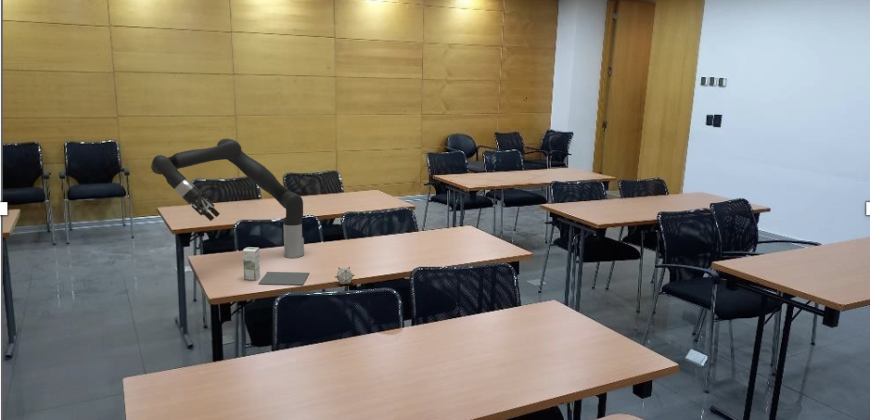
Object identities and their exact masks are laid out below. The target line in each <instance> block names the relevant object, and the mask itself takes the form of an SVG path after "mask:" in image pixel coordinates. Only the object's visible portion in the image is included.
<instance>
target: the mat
mask: <svg viewBox="0 0 870 420" xmlns="http://www.w3.org/2000/svg"><path fill="white" fill-rule="evenodd" d="M309 275H310V272H298V271H297V272H295V271H293V272H291V271H266V273H265V274H264V275H263V277H262V278H261V280H260V281H259V282H258V285H263V286H265V285H266V286H300V287H301V286H302V287H303V286H304V284H305V282H306V281H307V279H308V277H309Z"/></svg>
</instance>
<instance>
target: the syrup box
mask: <svg viewBox="0 0 870 420" xmlns="http://www.w3.org/2000/svg"><path fill="white" fill-rule="evenodd" d="M242 258H243V259H242V261H243V279H244V281H258V279H259V278H260V277H261V270H260V269H261V268H260V247H252V246H251V247H250V246H247V247H245V248H243V250H242Z"/></svg>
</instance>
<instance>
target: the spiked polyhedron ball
mask: <svg viewBox="0 0 870 420" xmlns="http://www.w3.org/2000/svg"><path fill="white" fill-rule="evenodd" d="M350 268H351V266H349V267H345V268H340V267H338V271H337V274H336V276H334V278H336V279H337V281H338V283H339V287H340V286H341V285H348V284H349V285H351V286H352V283H351V282H352V280H353V277H354V276H355V275H356V274H353V272H352V271H351V269H350Z"/></svg>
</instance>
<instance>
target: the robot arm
mask: <svg viewBox="0 0 870 420" xmlns="http://www.w3.org/2000/svg"><path fill="white" fill-rule="evenodd" d="M220 160H221V161H222V160H227V161H229V162H230V163H231V164H233V165H235V166H236V167H237V168H238V169H239V170H240V171H241V172H242V173H243V174H244V175H245V176H246V177H247V178H248V179H249V180H250V181H252V182H253V183H254V184H255V185H257V187H259V188H260V189H261V190H263V191H265V192H266V193H268V194H269V195H270V196H271V197H273V198H274V199H275V200H276V201H277V202H278V203H279V204H280V206H282V207H283V208H284V209H285V217H284V218H283V244H284V246H283V250H284V251H283V252H284V253H283V254H284V255H283V256H284V257H285V258H288V259H296V258H301V257H303V256H305V244H304V243H305V237H303V226H302V225H303V218H304V200H303V198H302V196H301V195H299V194H297V193H295V192H293V191H291V190H289V189H288V188H287V187H286V186H284V185H282V183H280V181H279V179H277V177H276V176H275V175H274V174H273V173H272V172H271V171H270V170H269V169H268V168H267V167H266V166H264V165H263V164H262V163H260V162H258V161H257V160H255V159H254V158H252V157H250V156H249V155H247V154H246V153H245V152H244V151H243V149H242V146H241V144H240V142H238V141H236V140H234V139H231V138H222V139H220V140H219V141H218V142H217V144H216V146H213V147H207V148H206V147H205V148H197V149H189V150H184V151H181V152H176V153H174V154H172V155H171V156H168V157H167V156H165V155H161V154H160V155H159V154H158V155H156V156H154V158H153V159H152V162H151V165H150V169H151V171H152V172H153V173H155V174H156V175H163V177H164V178H165V180H166V182H167V184H168V185H169V186H170V187H171V188H172V189H173V190H174V191H176V193H177V195H179V196H180V197H181V198H182V200H183V201H185V202H186V203H187V204H188V205H191V204H192V205H191V208H193V210H195V211H196V213H198V214H199V215H200V216H205V218H207V220H209V221H210V222H211V221H213V220H215V218H217V217H218V216H220V214H221V213H220V212H219V211H218V210H217V209H216V208H215V204H214V202H212V201H211V200H210V199H209V198H208V197H207V196H204V197H202V194H203V192H202V191H201V190H200V189H199V188H198V187H197V186H196V185H195V184H194V183H193V182H191V181H190V180H189V179H188V178H186V177H185V176H184V174H182V172H180V171H179V169H184V168H188V167H193V166H196V165H200V164H204V163H209V162H213V161H220ZM214 216H215V217H214Z"/></svg>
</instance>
